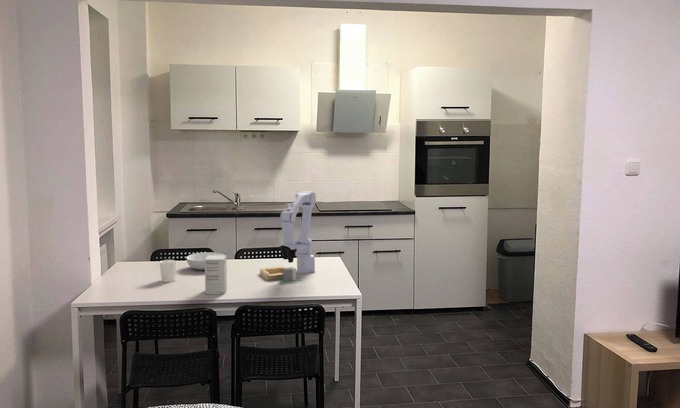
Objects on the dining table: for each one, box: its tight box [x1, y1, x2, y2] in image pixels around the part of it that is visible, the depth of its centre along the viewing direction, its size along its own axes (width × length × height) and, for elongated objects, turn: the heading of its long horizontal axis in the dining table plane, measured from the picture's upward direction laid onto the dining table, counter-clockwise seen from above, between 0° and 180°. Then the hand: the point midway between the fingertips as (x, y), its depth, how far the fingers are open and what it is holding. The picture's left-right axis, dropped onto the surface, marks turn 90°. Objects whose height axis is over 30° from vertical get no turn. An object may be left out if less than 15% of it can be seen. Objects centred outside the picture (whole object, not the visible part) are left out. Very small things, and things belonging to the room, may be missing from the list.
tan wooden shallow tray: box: [259, 265, 287, 281], centre depth 297 cm, size 14×17×3 cm
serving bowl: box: [185, 251, 224, 271], centre depth 315 cm, size 21×21×7 cm
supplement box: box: [204, 254, 228, 295], centre depth 267 cm, size 10×9×17 cm
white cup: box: [159, 259, 177, 283], centre depth 288 cm, size 8×8×10 cm
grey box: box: [282, 266, 297, 281], centre depth 288 cm, size 6×4×6 cm
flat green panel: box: [274, 276, 303, 284], centre depth 288 cm, size 12×9×1 cm
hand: (288, 260), depth 287 cm, fingers open, 7 cm apart
